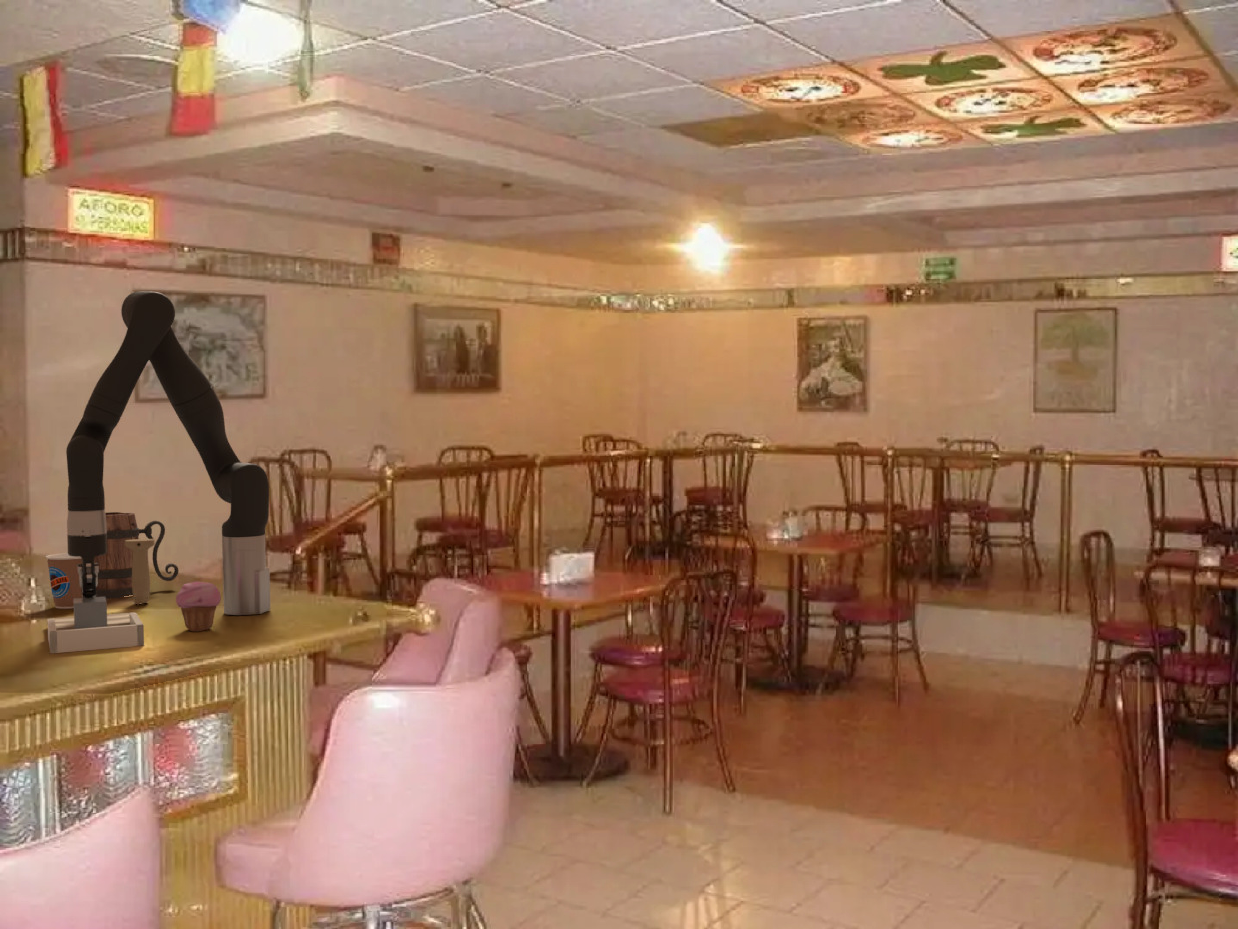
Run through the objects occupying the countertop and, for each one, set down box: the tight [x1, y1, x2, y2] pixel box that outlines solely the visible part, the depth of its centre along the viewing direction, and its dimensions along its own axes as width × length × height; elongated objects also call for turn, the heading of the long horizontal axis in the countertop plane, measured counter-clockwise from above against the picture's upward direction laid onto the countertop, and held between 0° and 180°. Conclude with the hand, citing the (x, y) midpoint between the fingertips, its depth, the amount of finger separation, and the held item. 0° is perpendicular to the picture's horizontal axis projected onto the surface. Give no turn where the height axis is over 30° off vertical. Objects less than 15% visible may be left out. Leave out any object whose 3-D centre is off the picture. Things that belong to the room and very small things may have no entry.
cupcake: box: [175, 580, 221, 633], centre depth 261 cm, size 9×9×10 cm
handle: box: [125, 538, 155, 605], centre depth 297 cm, size 5×6×15 cm
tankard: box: [94, 511, 179, 600], centre depth 316 cm, size 24×17×20 cm
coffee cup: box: [45, 552, 83, 610], centre depth 295 cm, size 10×10×12 cm
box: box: [47, 612, 145, 654], centre depth 248 cm, size 17×16×4 cm
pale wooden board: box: [46, 612, 130, 631], centre depth 262 cm, size 14×16×2 cm
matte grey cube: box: [73, 597, 108, 629], centre depth 257 cm, size 7×6×5 cm
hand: (89, 615), depth 262 cm, fingers closed
